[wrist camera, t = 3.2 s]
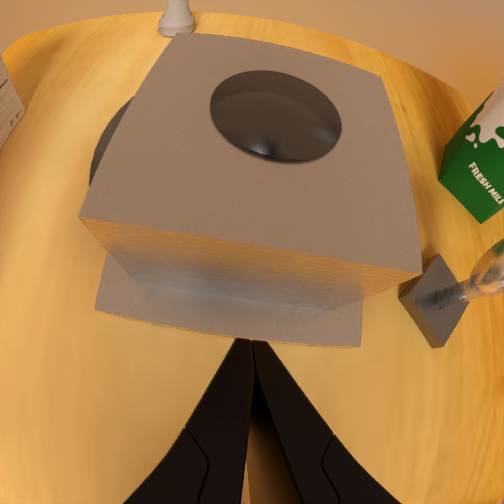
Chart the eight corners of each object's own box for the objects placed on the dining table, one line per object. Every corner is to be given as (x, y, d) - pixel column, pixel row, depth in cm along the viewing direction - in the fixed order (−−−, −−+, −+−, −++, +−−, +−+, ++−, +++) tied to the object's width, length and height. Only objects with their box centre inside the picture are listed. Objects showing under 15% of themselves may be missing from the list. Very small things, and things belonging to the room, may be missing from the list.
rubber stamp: (432, 348, 17) (539, 328, 8) (398, 298, 18) (506, 253, 9) (459, 304, 19) (551, 270, 10) (429, 258, 20) (519, 206, 11)
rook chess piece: (192, 38, 25) (196, -21, 17) (154, 39, 24) (152, -19, 17) (197, 24, 26) (202, -29, 19) (162, 24, 26) (163, -28, 18)
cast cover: (350, 347, 16) (463, 332, 8) (101, 312, 15) (9, 267, 6) (347, 152, 22) (402, 70, 13) (162, 117, 20) (155, 16, 11)
